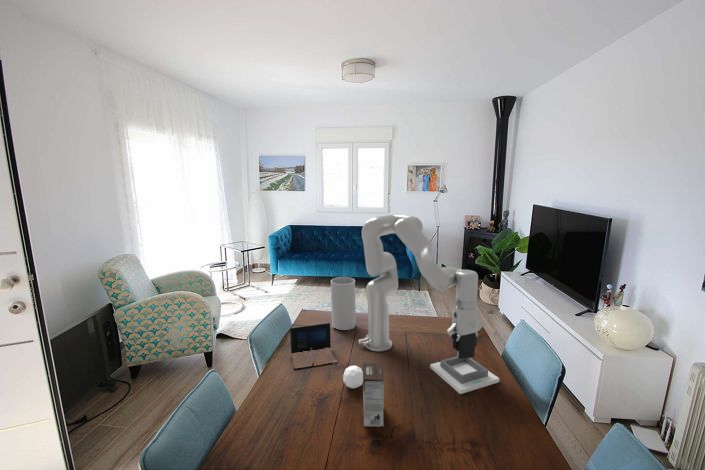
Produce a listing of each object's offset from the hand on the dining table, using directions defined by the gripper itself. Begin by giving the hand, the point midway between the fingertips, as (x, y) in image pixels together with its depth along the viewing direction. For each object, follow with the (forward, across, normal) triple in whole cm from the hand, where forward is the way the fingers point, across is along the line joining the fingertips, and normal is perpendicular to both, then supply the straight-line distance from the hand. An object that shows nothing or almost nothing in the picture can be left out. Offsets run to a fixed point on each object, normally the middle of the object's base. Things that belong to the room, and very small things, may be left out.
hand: (464, 346), depth 123 cm
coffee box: (+12, -42, -7) cm, 44 cm away
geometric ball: (+12, -42, +10) cm, 45 cm away
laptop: (+12, -51, +34) cm, 63 cm away
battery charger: (+4, 0, 0) cm, 4 cm away
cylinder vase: (+11, -28, +59) cm, 67 cm away
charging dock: (+12, 0, 0) cm, 12 cm away
